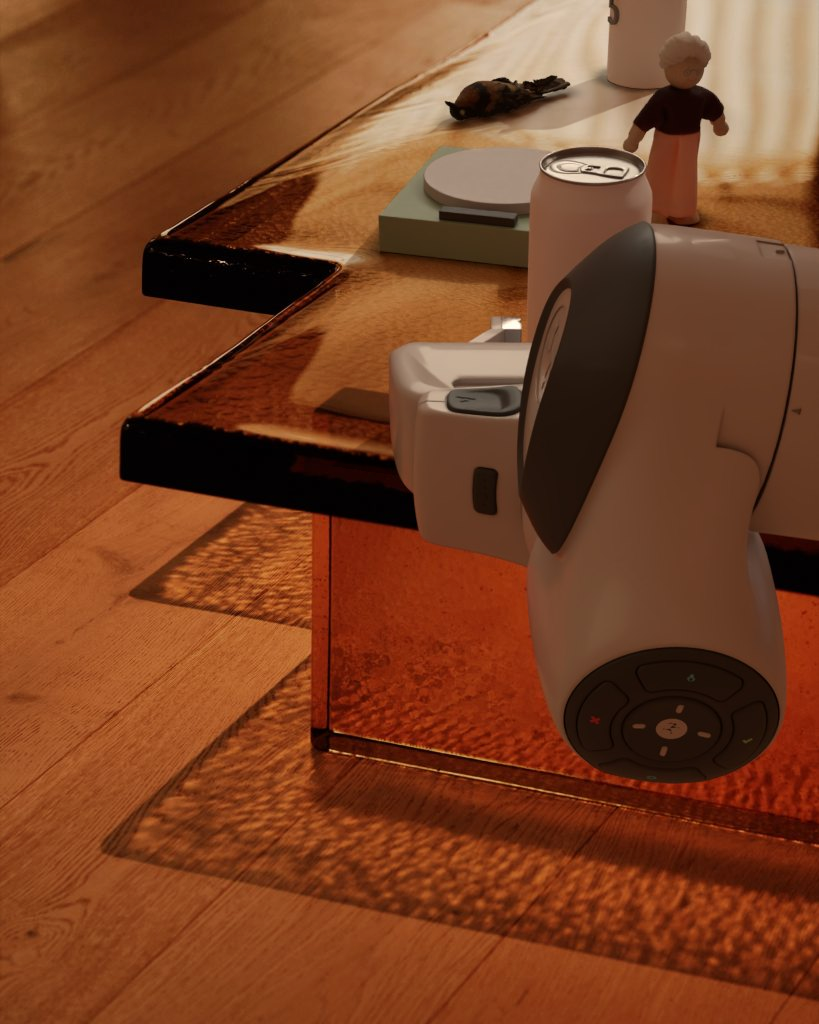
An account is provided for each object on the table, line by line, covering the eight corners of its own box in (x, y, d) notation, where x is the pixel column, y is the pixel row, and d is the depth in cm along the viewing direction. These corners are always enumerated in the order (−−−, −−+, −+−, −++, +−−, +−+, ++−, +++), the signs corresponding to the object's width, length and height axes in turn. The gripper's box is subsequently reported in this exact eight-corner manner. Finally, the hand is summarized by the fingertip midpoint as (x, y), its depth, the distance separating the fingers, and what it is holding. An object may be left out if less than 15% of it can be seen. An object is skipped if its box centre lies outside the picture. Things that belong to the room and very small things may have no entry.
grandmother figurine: (648, 241, 106) (662, 48, 99) (611, 223, 109) (622, 34, 102) (734, 216, 109) (753, 28, 103) (696, 199, 112) (712, 16, 106)
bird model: (429, 120, 128) (428, 87, 126) (559, 88, 134) (560, 56, 133) (453, 130, 125) (453, 96, 124) (584, 97, 132) (585, 65, 131)
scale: (617, 196, 113) (620, 151, 111) (573, 273, 102) (575, 224, 100) (440, 178, 116) (440, 134, 115) (378, 251, 105) (377, 203, 103)
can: (545, 337, 94) (551, 137, 87) (653, 354, 92) (668, 151, 85) (510, 385, 89) (514, 177, 82) (623, 404, 87) (637, 192, 80)
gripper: (899, 410, 63) (831, 269, 75) (379, 407, 64) (392, 268, 75) (877, 544, 66) (815, 389, 78) (382, 541, 67) (394, 388, 79)
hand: (604, 330), depth 77 cm, fingers open, 8 cm apart
